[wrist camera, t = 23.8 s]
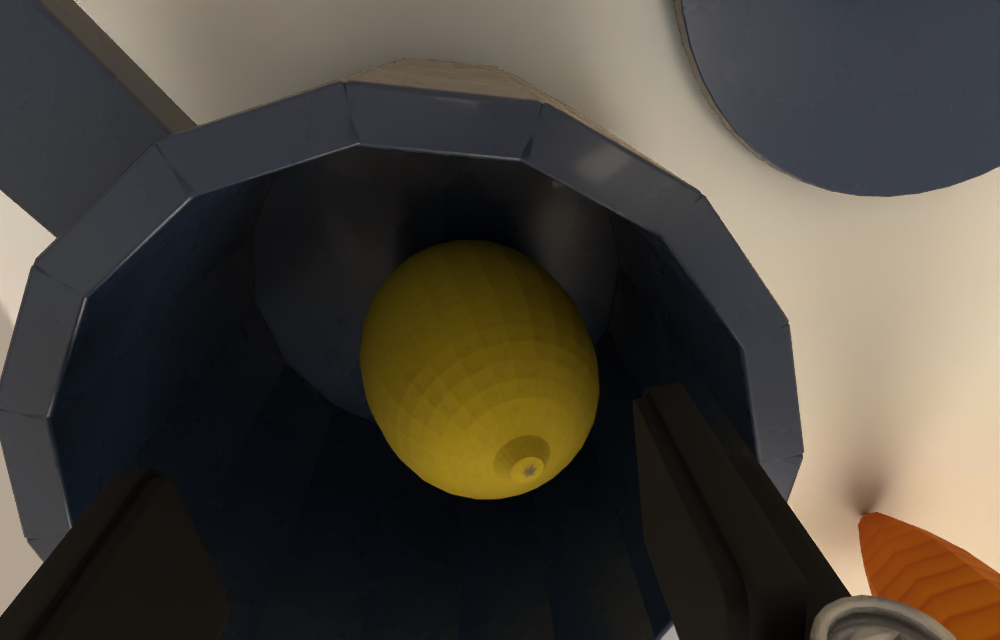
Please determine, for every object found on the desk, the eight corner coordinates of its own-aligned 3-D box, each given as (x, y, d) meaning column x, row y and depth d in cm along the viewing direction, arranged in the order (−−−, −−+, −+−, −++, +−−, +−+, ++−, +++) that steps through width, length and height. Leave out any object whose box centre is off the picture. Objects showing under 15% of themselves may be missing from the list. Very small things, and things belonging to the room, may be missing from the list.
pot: (390, -146, 15) (272, -447, 6) (752, 354, 22) (981, 604, 12) (66, 184, 18) (-377, 346, 9) (470, 544, 24) (475, 870, 15)
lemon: (503, 369, 21) (604, 565, 14) (332, 357, 19) (360, 579, 12) (552, 213, 19) (701, 362, 12) (364, 180, 17) (419, 338, 10)
